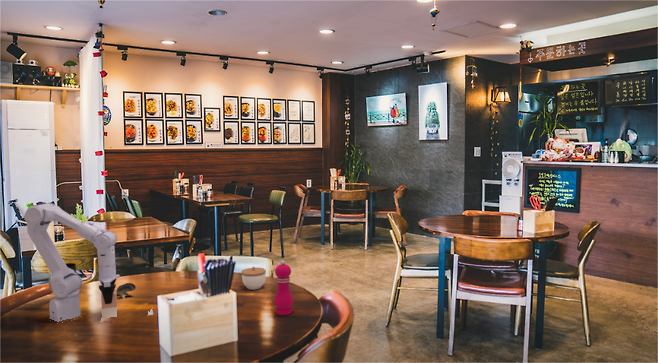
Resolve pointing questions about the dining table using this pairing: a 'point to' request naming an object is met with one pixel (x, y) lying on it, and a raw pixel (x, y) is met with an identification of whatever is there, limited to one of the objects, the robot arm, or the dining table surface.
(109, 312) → the cream base brick
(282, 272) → the pepper mill
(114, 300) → the pink cube
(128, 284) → the squirrel figurine
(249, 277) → the lidded jar
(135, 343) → the dining table surface
